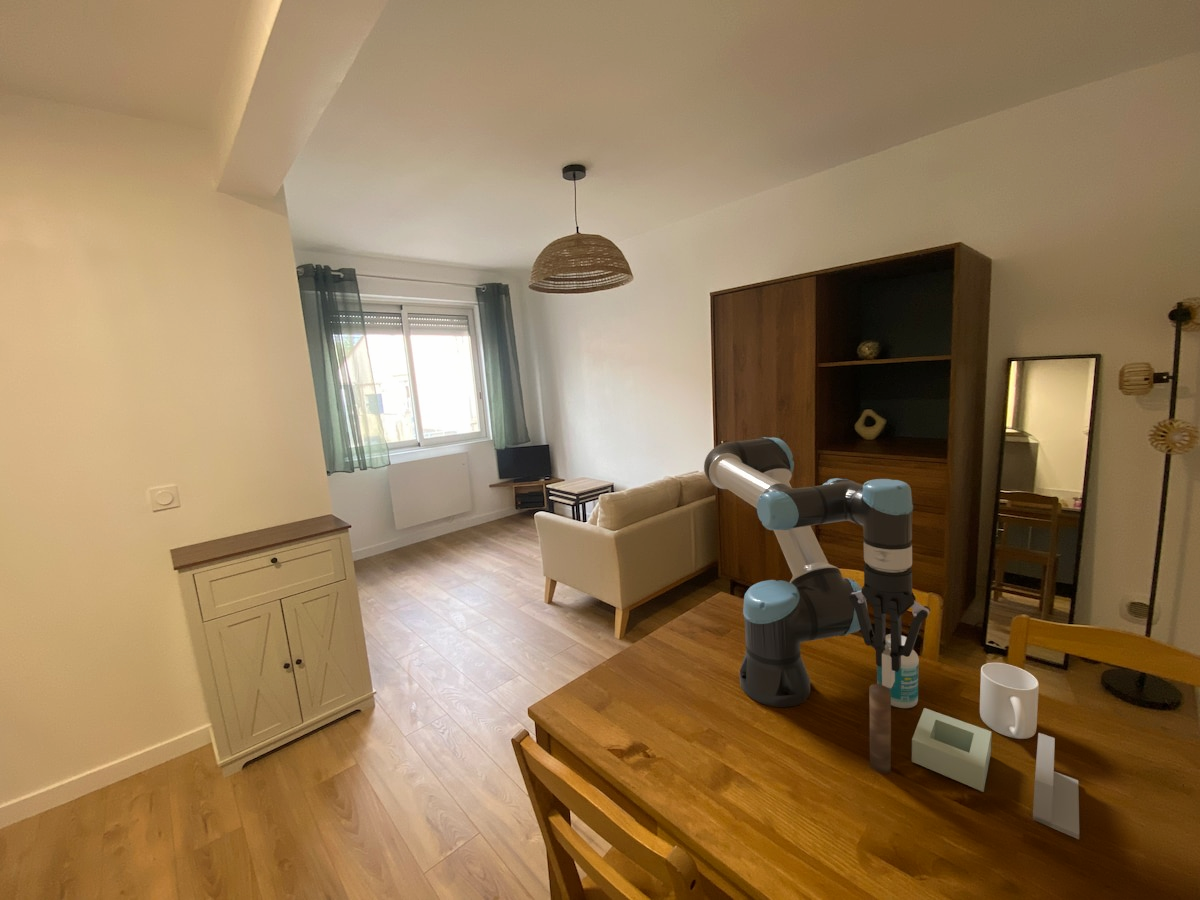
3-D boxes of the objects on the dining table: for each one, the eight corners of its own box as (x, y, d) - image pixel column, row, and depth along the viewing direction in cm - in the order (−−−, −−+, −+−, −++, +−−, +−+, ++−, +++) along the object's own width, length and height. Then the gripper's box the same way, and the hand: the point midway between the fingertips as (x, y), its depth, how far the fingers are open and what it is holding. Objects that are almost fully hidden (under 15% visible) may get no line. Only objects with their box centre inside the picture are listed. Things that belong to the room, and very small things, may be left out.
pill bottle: (907, 715, 95) (907, 654, 93) (870, 696, 102) (869, 638, 100) (925, 699, 99) (925, 640, 97) (888, 682, 106) (888, 626, 104)
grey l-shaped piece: (1032, 819, 73) (1034, 779, 72) (1036, 769, 81) (1038, 732, 80) (1079, 839, 69) (1081, 797, 68) (1077, 784, 77) (1080, 746, 76)
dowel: (867, 767, 84) (867, 691, 82) (872, 756, 87) (872, 681, 84) (888, 776, 82) (887, 698, 80) (892, 764, 84) (892, 688, 82)
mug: (1050, 761, 82) (1053, 708, 81) (989, 747, 86) (991, 696, 85) (1028, 715, 93) (1030, 667, 91) (975, 705, 97) (976, 658, 95)
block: (911, 761, 84) (911, 739, 84) (923, 728, 91) (924, 707, 91) (983, 792, 77) (984, 767, 77) (990, 754, 84) (991, 731, 84)
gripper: (842, 564, 88) (844, 680, 91) (925, 580, 79) (925, 708, 82) (854, 551, 93) (857, 661, 97) (934, 565, 84) (934, 686, 88)
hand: (888, 683), depth 90 cm, fingers closed
